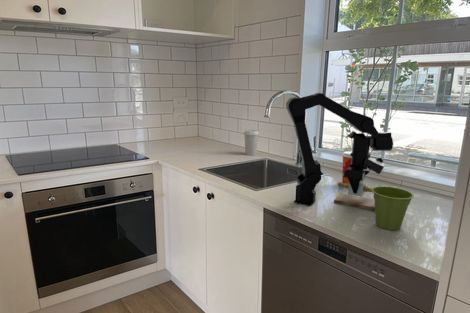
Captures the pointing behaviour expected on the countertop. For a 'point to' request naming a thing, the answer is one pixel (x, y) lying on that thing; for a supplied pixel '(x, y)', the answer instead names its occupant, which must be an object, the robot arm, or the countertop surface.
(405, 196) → the plant pot
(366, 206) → the cord clamp board
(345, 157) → the paper cup
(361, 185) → the white cube with hole
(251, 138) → the coffee cup
